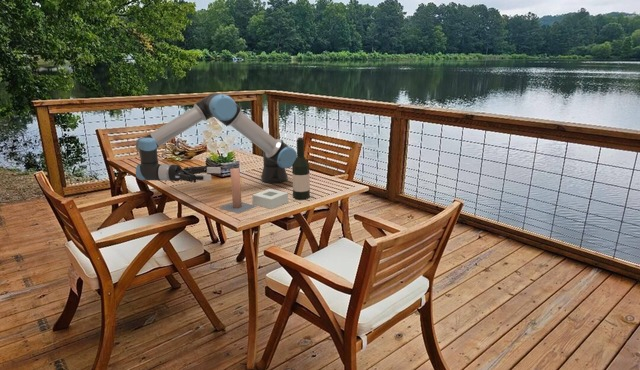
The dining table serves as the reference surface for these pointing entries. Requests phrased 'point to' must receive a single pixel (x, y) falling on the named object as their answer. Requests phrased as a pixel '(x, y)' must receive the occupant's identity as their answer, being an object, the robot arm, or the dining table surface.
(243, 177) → the dining table surface
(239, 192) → the dowel
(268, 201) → the socket block
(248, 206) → the mat
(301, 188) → the wine bottle
